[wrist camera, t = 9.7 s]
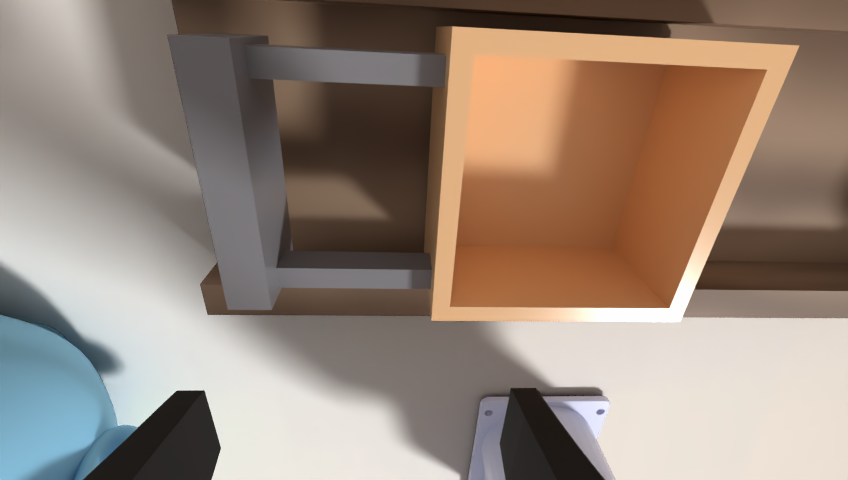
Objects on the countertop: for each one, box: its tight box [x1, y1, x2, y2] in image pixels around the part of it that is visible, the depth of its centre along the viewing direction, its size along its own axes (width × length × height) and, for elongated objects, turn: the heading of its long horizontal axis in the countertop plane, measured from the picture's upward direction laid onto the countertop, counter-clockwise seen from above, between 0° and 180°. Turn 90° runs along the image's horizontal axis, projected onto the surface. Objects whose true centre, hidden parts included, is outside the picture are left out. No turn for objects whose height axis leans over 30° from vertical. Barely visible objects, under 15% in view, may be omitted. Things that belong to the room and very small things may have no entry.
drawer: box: [167, 26, 799, 322], centre depth 14 cm, size 9×16×5 cm, turn 87°
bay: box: [172, 0, 848, 318], centre depth 15 cm, size 13×34×7 cm, turn 87°
